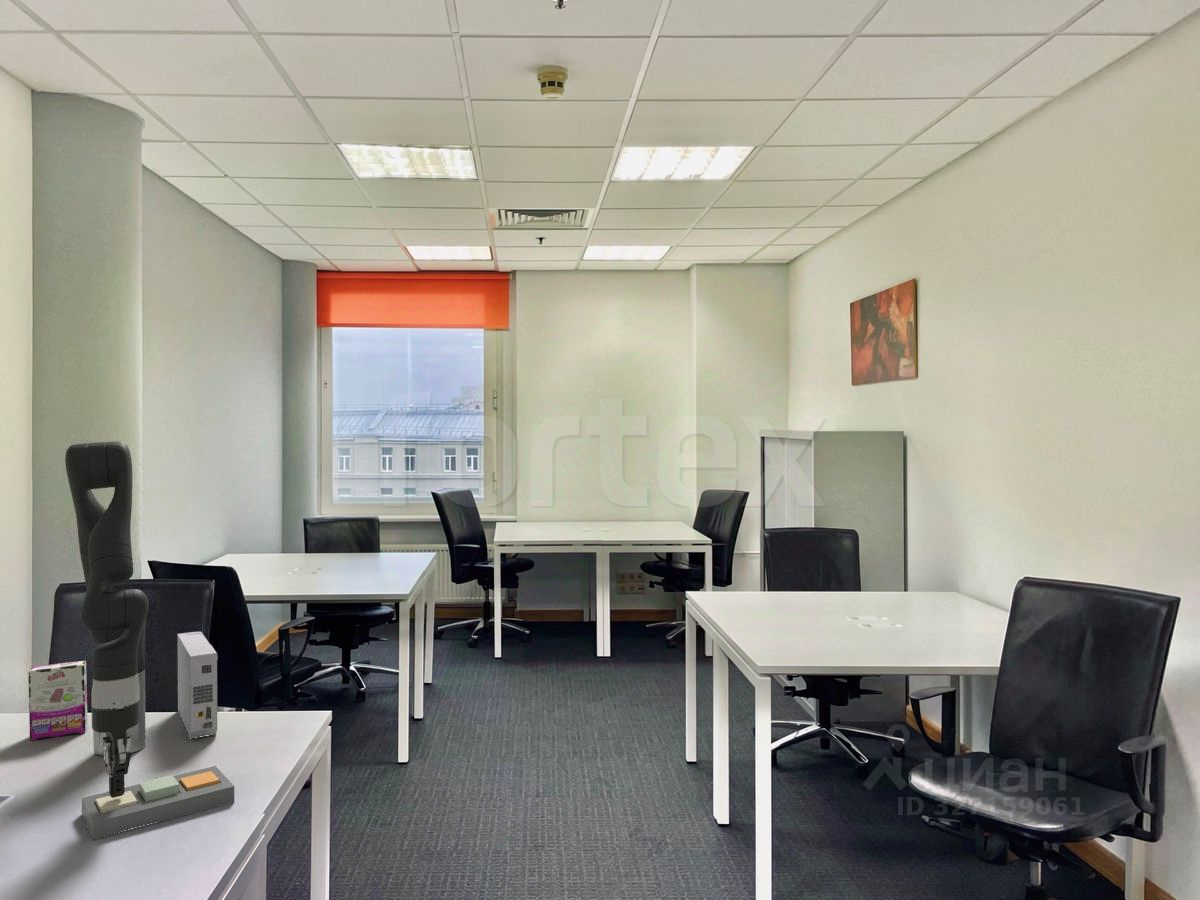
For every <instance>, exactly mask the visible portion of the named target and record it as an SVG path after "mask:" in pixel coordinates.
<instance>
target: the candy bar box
mask: <svg viewBox="0 0 1200 900" xmlns="http://www.w3.org/2000/svg"><path fill="white" fill-rule="evenodd" d="M27 674H28V702H29V703H28V705H29V706H28V707H29V708H28V709H29V710H28V711H29V714H28V716H29V717H28V718H29V719H28V720H29V722H28V723H29V741H31V742H32V741H38V740H46V739H52V738H53V739H54V738H59V737H64V736H65V737H66V736H72V735H79V734H85V733H86V732H87V729H88V698H87V697H88V690H87V688H88V687H87V685H88V683H87V660H81V661H80V660H79V661H71V662H70V661H68V662H62V663H61V662H60V663H54V664H53V663H52V664H45V665H44V664H43V665H36V666H32V667H31V668H30V669H29V671H28V673H27Z"/></svg>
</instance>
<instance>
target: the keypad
mask: <svg viewBox="0 0 1200 900" xmlns="http://www.w3.org/2000/svg"><path fill="white" fill-rule="evenodd" d="M209 771H212V772H213V773H214V774H215V775H216V777H217V778H218V779H219V783H218V784H214V785H210V786H206V787H202V788H198V789H194V790H190V791H185V789H184V788H183V787H182V785H181V784H180V778H184V777H188V776H192V775H197V774H201V773H205V772H209ZM173 777H174V778H175V779H176V780H177V782H178V783H179V793H178V794H174V795H170V796H167V797H163V798H159V799H155V800H151V801H147V802H144V800H143V798H142V797H141V795H140V794H139V784H133V785H131V786H126V787H124V792H127V791H131V792H132V793H133V795H134V797H135V798H136V800H137V804H135V805H131V806H127V807H123V808H119V809H115V810H112V811H108V812H104V813H100V814H99V812H98V810H97V808H96V799H98V798H102V797H106V796H110V794H109V791H105V792H101V793H97V794H93V795H88V796H85V797H81V815H83V816H82V818H83V820H84V822H85V824H87V825H86V826H88V827H87V828H88V831H89V834H90V833H91V834H90V836H91V835H92V836H91V837H92V840H93V841H94V839H96V840H98V839H97V838H99V839H102V838H101V837H103V838H105V837H104V836H107V837H109V836H108V835H111V834H114V833H118V832H121V831H124V830H128V829H131V828H135V827H139V826H143V825H147V824H151V823H155V822H158V823H160V822H159V821H162V822H165V821H164V820H166V821H168V820H167V819H169V820H172V819H171V818H173V819H176V818H175V817H177V818H180V817H184V816H188V815H191V813H192V814H194V812H195V813H198V812H197V811H199V812H202V811H201V810H203V811H206V810H209V808H210V809H213V808H217V807H220V806H224V805H229V804H231V803H232V804H233V803H235V785H234V784H233V783H232V782H231V781H230V780H229V779H228V778H227V777H226V775H225V774H224V773H223V772H222V771H221V770H220V769H219V768H218V767H217V766H216V765H213V766H209V767H205V768H201V769H197V770H196V769H195V770H193V771H188V772H183V773H180V774H176V775H173ZM205 809H206V810H205ZM187 814H188V815H187ZM183 815H184V816H183ZM179 816H180V817H179ZM155 824H156V823H155ZM151 825H152V824H151ZM147 826H148V825H147ZM118 834H119V833H118ZM114 835H115V834H114ZM111 836H112V835H111Z"/></svg>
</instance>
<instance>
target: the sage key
mask: <svg viewBox="0 0 1200 900" xmlns="http://www.w3.org/2000/svg"><path fill="white" fill-rule="evenodd" d="M173 776H174V775H173V774H171V775H166V776H162V777H159V778H153V779H150V780H145V781H140V782H139V794H140V795H141V797H142V798H143V800H144V802H147V801H151V800H155V799H159V798H163V797H167V796H170V795H174V794H178V793H179V783H178V782H177V780H176V779H175V778H174V777H173Z"/></svg>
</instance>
